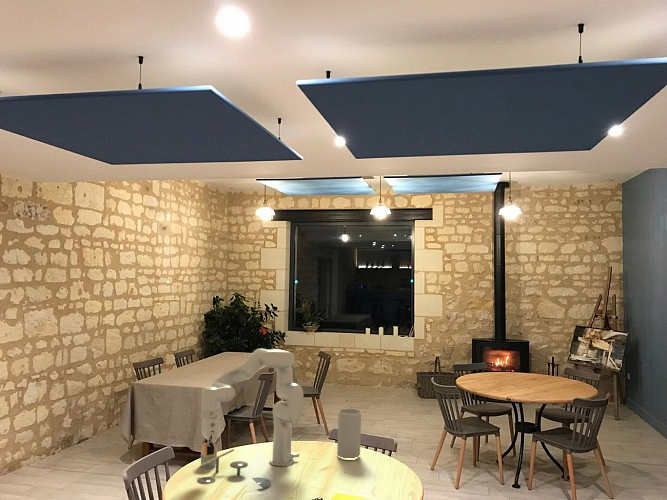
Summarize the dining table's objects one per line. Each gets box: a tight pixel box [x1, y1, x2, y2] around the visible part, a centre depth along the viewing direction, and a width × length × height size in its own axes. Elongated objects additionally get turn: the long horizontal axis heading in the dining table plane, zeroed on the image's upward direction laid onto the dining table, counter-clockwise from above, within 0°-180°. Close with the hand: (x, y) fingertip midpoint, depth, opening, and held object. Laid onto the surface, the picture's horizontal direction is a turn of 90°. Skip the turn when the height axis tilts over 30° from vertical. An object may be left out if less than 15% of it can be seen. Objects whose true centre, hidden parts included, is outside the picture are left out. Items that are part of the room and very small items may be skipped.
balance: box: [196, 448, 249, 485], centre depth 254 cm, size 24×14×11 cm, turn 122°
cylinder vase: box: [336, 407, 362, 458], centre depth 291 cm, size 12×12×25 cm
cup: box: [200, 446, 218, 469], centre depth 266 cm, size 8×8×10 cm
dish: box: [251, 476, 272, 491], centre depth 248 cm, size 12×12×1 cm
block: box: [201, 442, 217, 457], centre depth 248 cm, size 5×5×5 cm
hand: (208, 452), depth 248 cm, fingers closed on block, 5 cm apart
